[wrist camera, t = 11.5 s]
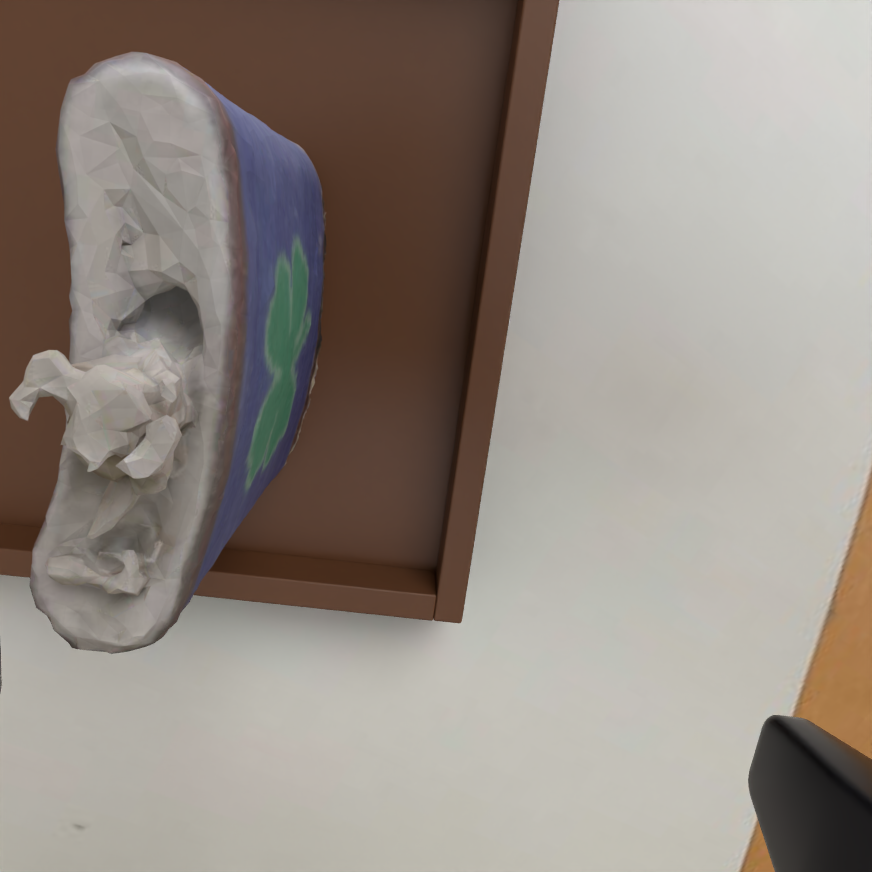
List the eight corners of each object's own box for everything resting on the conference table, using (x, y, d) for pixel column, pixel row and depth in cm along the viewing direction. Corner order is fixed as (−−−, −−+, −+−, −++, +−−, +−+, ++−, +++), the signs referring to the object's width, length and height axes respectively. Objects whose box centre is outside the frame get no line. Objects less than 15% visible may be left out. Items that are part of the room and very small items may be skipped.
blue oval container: (232, 129, 17) (-41, -27, 7) (350, 153, 18) (251, 37, 7) (195, 475, 20) (-49, 735, 10) (298, 493, 20) (169, 766, 10)
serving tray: (558, -68, 17) (576, -109, 15) (457, 588, 22) (461, 624, 20) (-479, -233, 16) (-612, -304, 14) (-348, 500, 20) (-434, 528, 18)
